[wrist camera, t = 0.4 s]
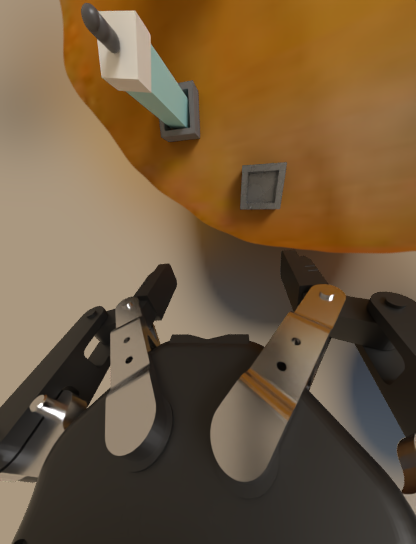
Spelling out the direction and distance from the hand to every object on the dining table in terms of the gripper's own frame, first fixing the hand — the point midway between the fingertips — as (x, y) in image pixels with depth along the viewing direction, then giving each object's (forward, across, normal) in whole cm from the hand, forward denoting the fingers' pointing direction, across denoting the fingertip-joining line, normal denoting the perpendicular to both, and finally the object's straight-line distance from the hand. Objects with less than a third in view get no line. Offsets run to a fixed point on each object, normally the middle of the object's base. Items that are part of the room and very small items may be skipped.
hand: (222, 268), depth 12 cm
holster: (+30, +7, -14) cm, 34 cm away
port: (+26, -6, 0) cm, 27 cm away
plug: (+30, +7, -14) cm, 34 cm away
